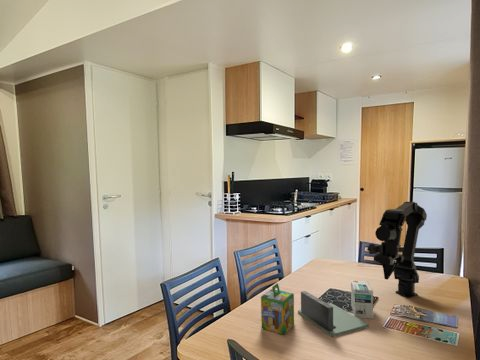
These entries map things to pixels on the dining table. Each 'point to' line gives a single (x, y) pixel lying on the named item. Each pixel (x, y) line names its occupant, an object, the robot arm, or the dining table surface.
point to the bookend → (317, 310)
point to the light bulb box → (362, 299)
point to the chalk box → (277, 310)
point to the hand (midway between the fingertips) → (386, 279)
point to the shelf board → (341, 322)
